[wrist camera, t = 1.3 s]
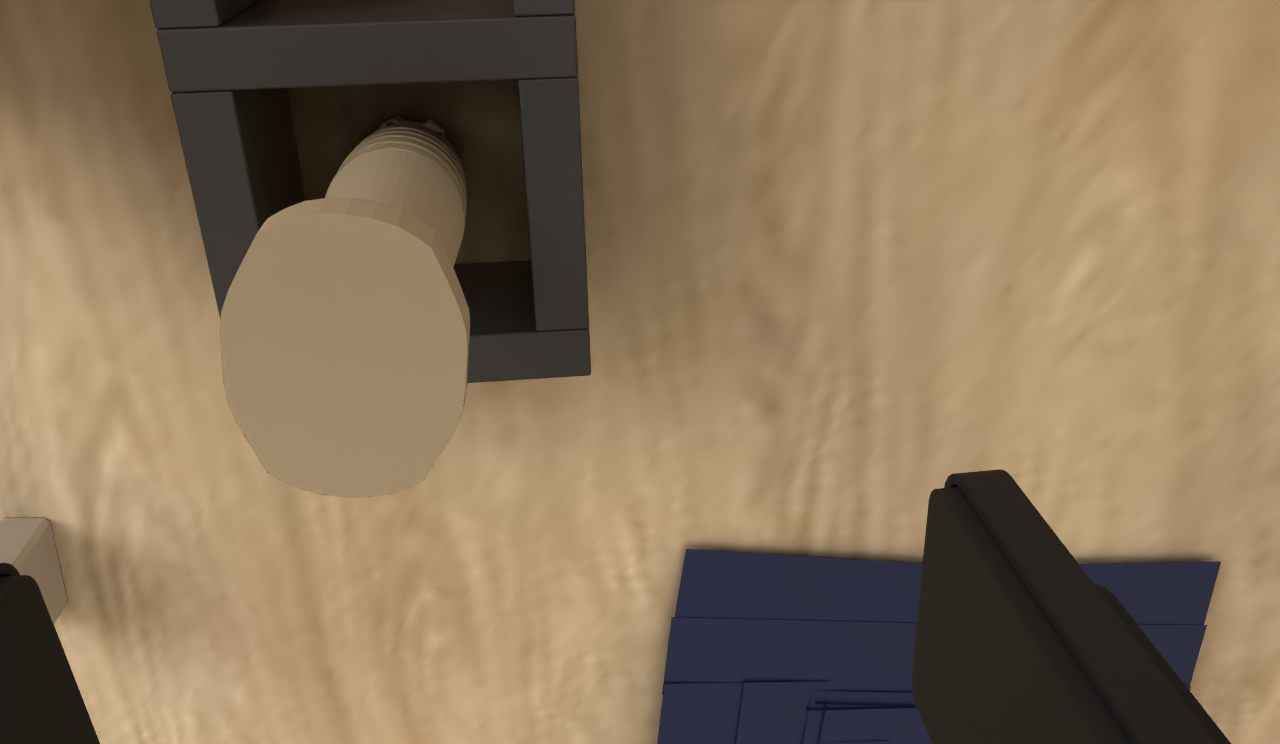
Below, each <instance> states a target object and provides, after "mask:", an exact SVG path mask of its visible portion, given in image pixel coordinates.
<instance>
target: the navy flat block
mask: <svg viewBox="0 0 1280 744" xmlns="http://www.w3.org/2000/svg"><path fill="white" fill-rule="evenodd" d="M1220 563H1221V562H1166V563H1109V564H1079V565H1080V567H1081V568H1082V569H1083V571H1084V572H1085V573H1086V575H1087V576H1088V577H1089V578H1090V580H1091V581H1092V582H1093V583H1097V584H1100V585H1102V586H1105V587H1106V588H1107V589H1108V590H1109V591H1110V592H1111V593H1112V594H1113V595H1114V596H1116V598H1117V599H1118V600H1119V601H1120V603H1121V604H1122V605H1123V607H1124V608H1125V609H1126V610H1127V612H1128V613H1129V614H1130V615H1131V617H1132V618H1133V619H1134V621H1135V622H1136V623H1137V624H1138V626H1139V627H1140V628H1141V630H1142V631H1143V632H1144V633H1145V635H1146V636H1147V637H1148V638H1149V640H1150V641H1151V642H1152V644H1153V645H1154V646H1155V647H1156V649H1157V650H1158V651H1159V652H1160V654H1161V655H1162V656H1163V658H1164V659H1165V660H1166V661H1167V663H1168V664H1169V665H1170V666H1171V668H1172V669H1173V670H1174V672H1175V673H1176V674H1177V675H1178V677H1179V678H1180V679H1181V680H1182V682H1183V683H1184V684H1185V686H1186V687H1187V688H1188V689H1189V690H1190V687H1189V686H1190V682H1191V679H1192V675H1193V672H1194V668H1195V665H1196V661H1197V658H1198V654H1199V651H1200V647H1201V644H1202V640H1203V637H1204V633H1205V630H1206V626H1207V625H1204V622H1205V618H1206V614H1207V611H1208V607H1209V603H1210V600H1211V596H1212V592H1213V589H1214V585H1215V581H1216V578H1217V574H1218V570H1219V566H1220ZM922 567H923V564H919V563H903V562H887V561H871V560H855V559H839V558H823V557H807V556H791V555H775V554H758V553H742V552H726V551H710V550H694V549H686V553H685V559H684V565H683V571H682V577H681V583H680V589H679V595H678V601H677V607H676V613H675V617H672V620H671V628H670V636H669V644H668V652H667V661H666V669H665V677H664V685H663V693H662V695H663V701H662V709H661V718H660V727H659V735H658V744H932V742H931V740H930V737H929V735H928V733H927V731H926V728H925V726H924V724H923V722H922V720H921V717H920V715H919V713H918V710H917V708H916V704H915V700H914V696H913V690H912V669H913V659H914V648H915V638H916V628H917V618H918V608H919V597H920V587H921V577H922Z"/></svg>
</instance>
